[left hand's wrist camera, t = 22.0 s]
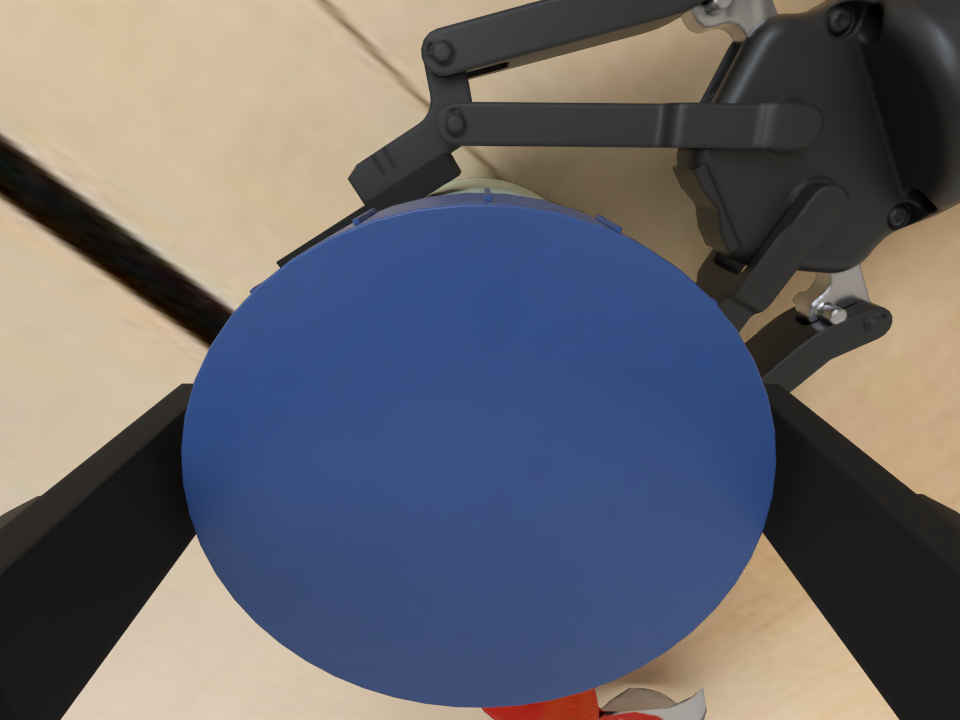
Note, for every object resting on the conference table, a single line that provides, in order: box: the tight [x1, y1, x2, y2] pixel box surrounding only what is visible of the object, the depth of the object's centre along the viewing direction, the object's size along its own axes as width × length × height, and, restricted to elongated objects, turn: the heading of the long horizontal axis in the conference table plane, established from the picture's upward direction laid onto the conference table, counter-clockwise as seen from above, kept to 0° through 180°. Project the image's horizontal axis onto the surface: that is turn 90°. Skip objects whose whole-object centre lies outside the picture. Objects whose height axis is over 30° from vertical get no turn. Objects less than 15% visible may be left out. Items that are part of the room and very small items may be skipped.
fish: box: [482, 688, 707, 720], centre depth 30 cm, size 11×16×10 cm
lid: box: [181, 188, 776, 708], centre depth 11 cm, size 11×11×2 cm
